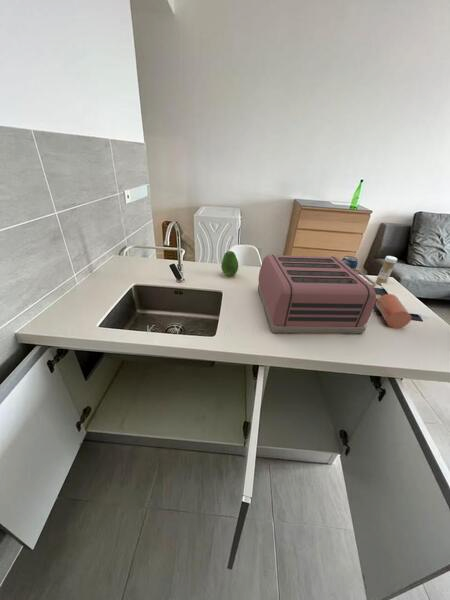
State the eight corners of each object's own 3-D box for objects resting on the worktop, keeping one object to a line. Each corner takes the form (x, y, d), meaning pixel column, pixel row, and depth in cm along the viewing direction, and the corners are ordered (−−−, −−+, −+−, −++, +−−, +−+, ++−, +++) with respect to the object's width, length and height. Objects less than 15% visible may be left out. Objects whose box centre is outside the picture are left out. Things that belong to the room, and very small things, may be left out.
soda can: (340, 285, 113) (348, 261, 107) (332, 278, 119) (339, 255, 113) (353, 284, 114) (362, 260, 108) (344, 278, 120) (352, 255, 114)
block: (384, 299, 96) (381, 306, 98) (380, 294, 99) (377, 301, 101) (375, 298, 96) (372, 305, 98) (371, 294, 99) (368, 301, 101)
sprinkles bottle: (373, 281, 118) (383, 255, 111) (380, 281, 119) (391, 255, 112) (380, 286, 114) (391, 259, 107) (388, 285, 115) (400, 259, 108)
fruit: (235, 280, 112) (237, 255, 106) (219, 277, 114) (220, 253, 108) (238, 273, 119) (241, 249, 113) (223, 270, 120) (224, 247, 114)
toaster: (376, 334, 82) (397, 290, 73) (270, 334, 80) (279, 288, 71) (336, 291, 108) (349, 254, 99) (255, 289, 106) (260, 251, 97)
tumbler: (403, 329, 86) (391, 311, 95) (415, 313, 82) (401, 296, 91) (382, 325, 87) (372, 307, 96) (393, 309, 82) (381, 292, 91)
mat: (396, 291, 111) (397, 290, 111) (422, 321, 91) (423, 320, 91) (359, 286, 113) (360, 285, 113) (377, 315, 93) (377, 314, 93)
